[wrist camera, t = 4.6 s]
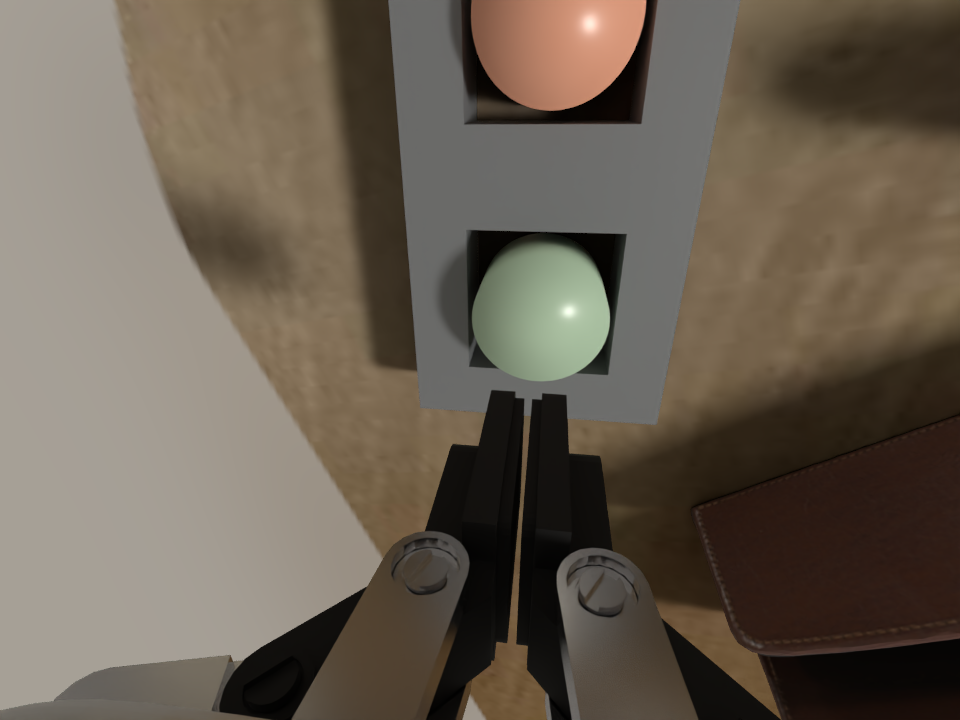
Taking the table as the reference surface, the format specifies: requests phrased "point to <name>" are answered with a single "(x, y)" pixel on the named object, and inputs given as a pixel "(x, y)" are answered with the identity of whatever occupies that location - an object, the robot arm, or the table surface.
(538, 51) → the terracotta button
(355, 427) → the table surface
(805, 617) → the letter holder
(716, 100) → the button panel
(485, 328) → the sage button
